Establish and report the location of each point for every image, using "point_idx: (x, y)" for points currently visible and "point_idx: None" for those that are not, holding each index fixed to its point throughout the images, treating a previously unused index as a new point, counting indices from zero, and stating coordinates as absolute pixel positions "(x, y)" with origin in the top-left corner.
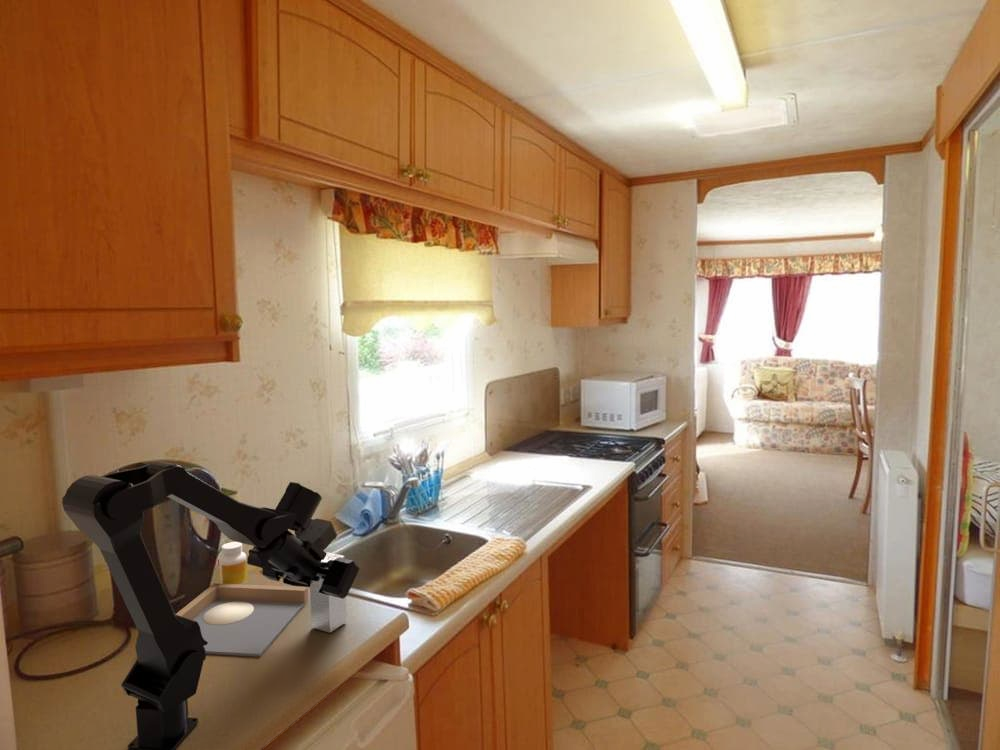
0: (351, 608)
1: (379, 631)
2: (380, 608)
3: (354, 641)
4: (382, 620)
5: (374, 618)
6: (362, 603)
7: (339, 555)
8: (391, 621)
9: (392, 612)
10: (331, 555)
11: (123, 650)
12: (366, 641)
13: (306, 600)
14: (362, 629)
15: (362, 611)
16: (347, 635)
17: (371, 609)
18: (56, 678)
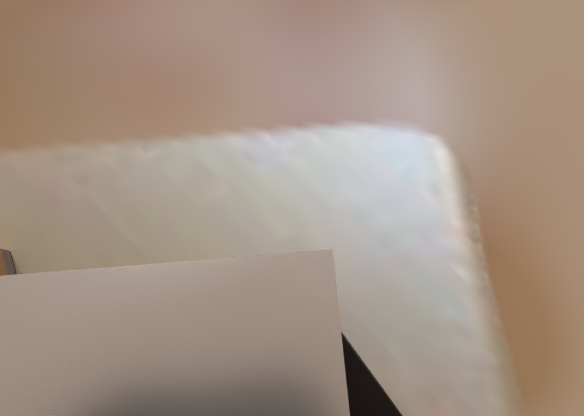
0: (233, 197)
1: (485, 280)
2: (341, 136)
3: (462, 410)
4: (424, 204)
5: (382, 209)
6: (244, 143)
7: (205, 289)
8: (462, 191)
9: (408, 136)
10: (25, 396)
11: None
12: (507, 379)
13: (4, 262)
14: (410, 307)
15: (293, 192)
16: (393, 385)
17: (315, 160)
18: None
